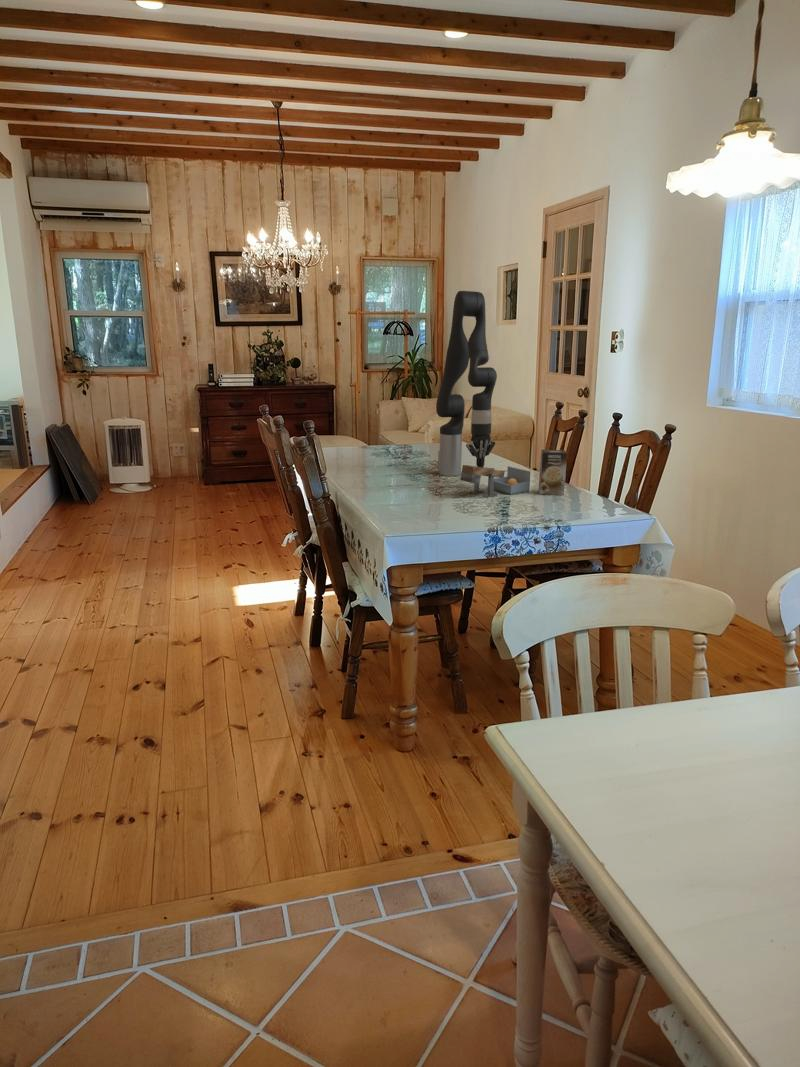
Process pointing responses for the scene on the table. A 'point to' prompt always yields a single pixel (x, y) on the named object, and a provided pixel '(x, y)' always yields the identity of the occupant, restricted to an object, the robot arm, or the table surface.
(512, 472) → the bin
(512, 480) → the ball
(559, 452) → the coffee box
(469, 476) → the lever chute
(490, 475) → the lever stand
